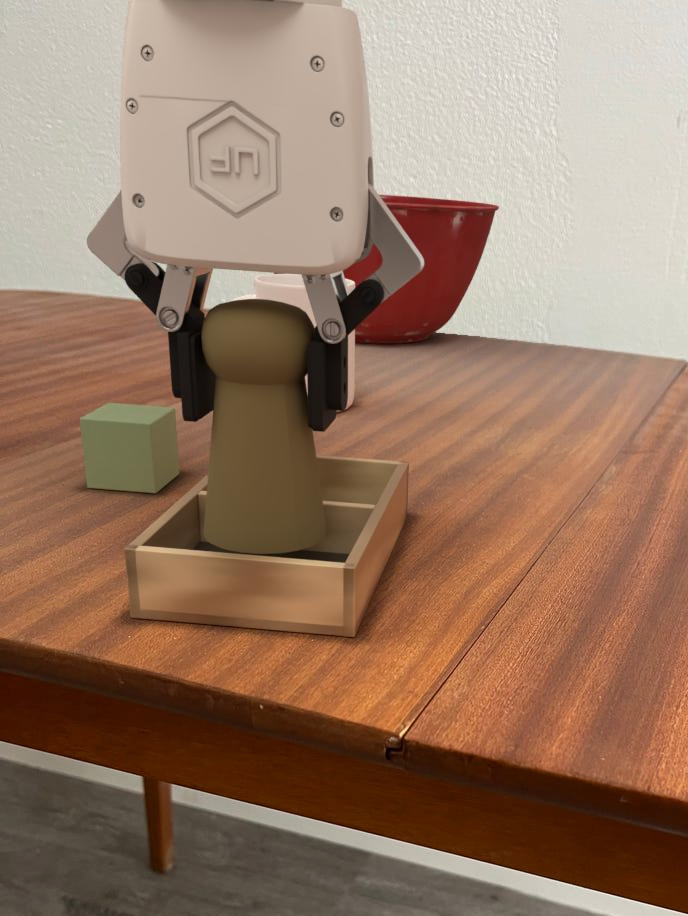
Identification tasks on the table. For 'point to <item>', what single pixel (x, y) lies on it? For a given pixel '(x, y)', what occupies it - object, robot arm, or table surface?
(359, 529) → the tray
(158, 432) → the green block
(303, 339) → the olive pawn
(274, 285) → the mug
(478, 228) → the mixing bowl
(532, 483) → the table surface
